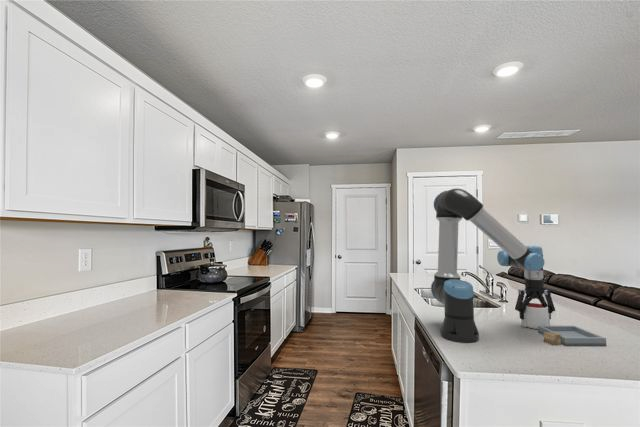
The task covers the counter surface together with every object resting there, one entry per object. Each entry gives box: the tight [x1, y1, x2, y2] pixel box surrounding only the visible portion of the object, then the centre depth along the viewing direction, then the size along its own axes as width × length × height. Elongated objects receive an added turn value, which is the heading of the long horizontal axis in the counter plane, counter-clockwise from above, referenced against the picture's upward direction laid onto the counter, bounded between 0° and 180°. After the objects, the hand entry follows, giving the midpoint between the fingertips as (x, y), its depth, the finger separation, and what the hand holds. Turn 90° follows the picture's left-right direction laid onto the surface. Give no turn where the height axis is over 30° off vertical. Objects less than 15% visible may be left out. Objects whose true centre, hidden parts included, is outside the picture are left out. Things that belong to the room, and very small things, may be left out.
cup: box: [525, 302, 548, 330], centre depth 150 cm, size 10×10×10 cm
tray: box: [537, 325, 607, 347], centre depth 134 cm, size 16×16×3 cm
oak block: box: [543, 331, 562, 346], centre depth 129 cm, size 4×4×4 cm
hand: (535, 326), depth 150 cm, fingers closed on cup, 10 cm apart
